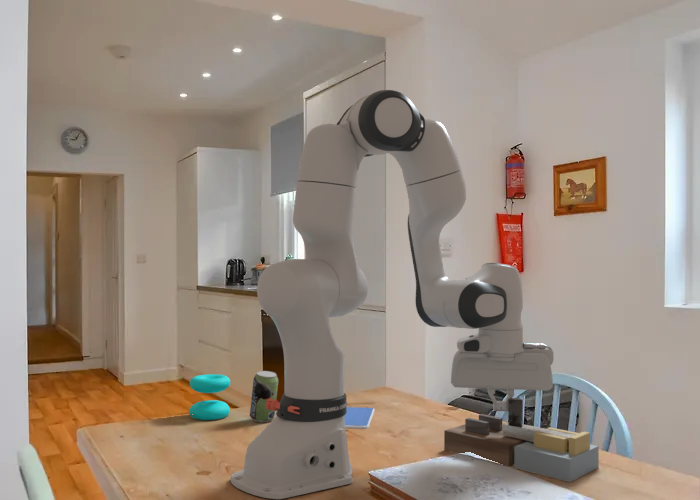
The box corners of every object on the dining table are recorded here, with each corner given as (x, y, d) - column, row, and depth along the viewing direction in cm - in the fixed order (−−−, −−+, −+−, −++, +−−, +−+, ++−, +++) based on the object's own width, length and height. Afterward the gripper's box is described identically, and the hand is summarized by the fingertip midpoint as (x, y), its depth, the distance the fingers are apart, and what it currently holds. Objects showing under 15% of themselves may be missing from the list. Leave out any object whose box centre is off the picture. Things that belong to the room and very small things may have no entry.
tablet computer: (368, 431, 146) (368, 425, 146) (315, 429, 147) (315, 423, 148) (375, 412, 165) (375, 407, 165) (328, 411, 167) (328, 406, 167)
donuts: (234, 378, 154) (192, 381, 151) (233, 419, 154) (192, 422, 150) (226, 372, 164) (187, 374, 160) (225, 410, 163) (186, 413, 160)
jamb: (508, 466, 119) (508, 432, 119) (444, 449, 129) (444, 418, 130) (539, 453, 127) (539, 421, 128) (476, 439, 138) (476, 409, 138)
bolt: (569, 449, 115) (569, 410, 115) (502, 435, 125) (502, 399, 125) (576, 446, 117) (576, 408, 118) (510, 432, 127) (510, 397, 127)
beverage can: (261, 416, 157) (262, 368, 158) (283, 420, 153) (284, 371, 153) (243, 421, 152) (244, 371, 153) (265, 425, 148) (266, 375, 148)
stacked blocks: (570, 482, 110) (570, 442, 110) (514, 467, 118) (514, 430, 118) (598, 467, 119) (598, 430, 119) (544, 454, 127) (544, 420, 127)
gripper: (551, 342, 129) (551, 409, 129) (450, 339, 133) (450, 405, 132) (555, 345, 123) (556, 416, 122) (450, 343, 126) (450, 412, 126)
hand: (500, 410), depth 127 cm, fingers closed
